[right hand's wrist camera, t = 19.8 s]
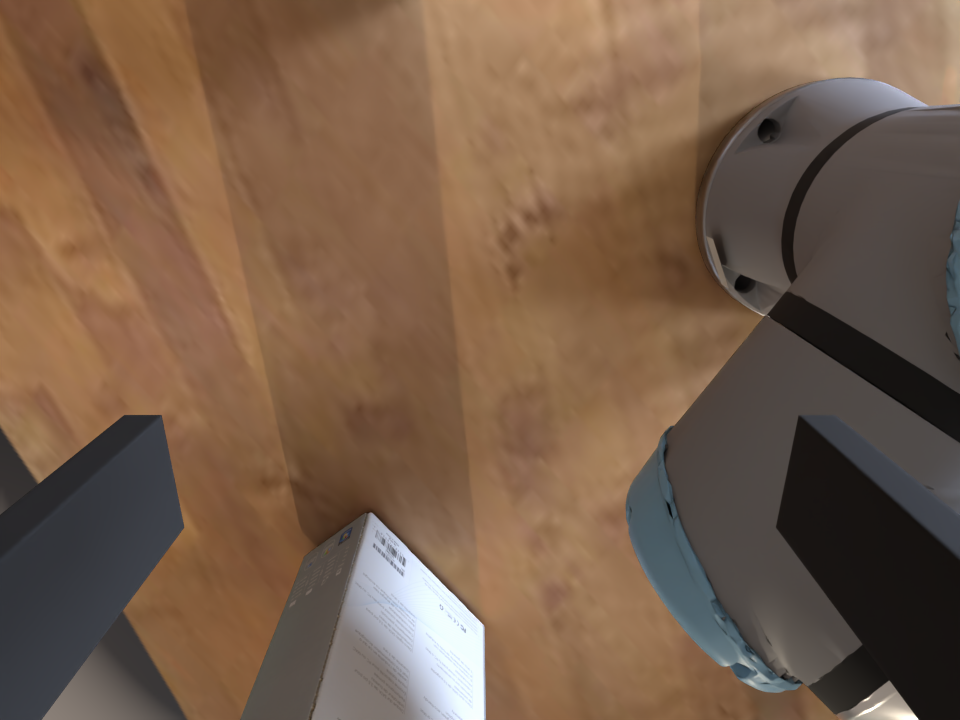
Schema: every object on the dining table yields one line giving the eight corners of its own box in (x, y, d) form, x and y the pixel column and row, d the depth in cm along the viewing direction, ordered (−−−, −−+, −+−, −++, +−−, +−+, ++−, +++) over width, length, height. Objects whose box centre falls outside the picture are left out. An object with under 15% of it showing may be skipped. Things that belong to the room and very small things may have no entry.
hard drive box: (300, 555, 51) (196, 803, 32) (369, 506, 49) (302, 738, 30) (422, 667, 55) (392, 943, 36) (489, 625, 53) (494, 893, 35)
